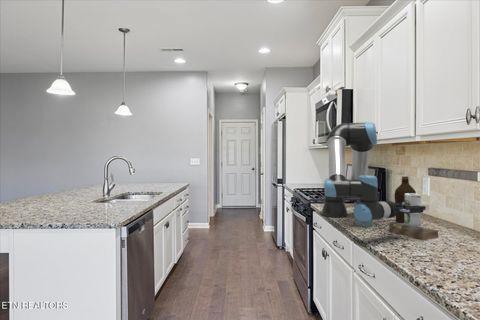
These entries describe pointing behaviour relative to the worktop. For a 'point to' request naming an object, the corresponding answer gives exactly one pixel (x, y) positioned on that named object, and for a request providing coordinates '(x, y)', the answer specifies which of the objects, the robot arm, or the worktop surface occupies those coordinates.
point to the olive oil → (402, 196)
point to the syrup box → (412, 218)
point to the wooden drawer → (412, 231)
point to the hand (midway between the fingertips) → (419, 205)
